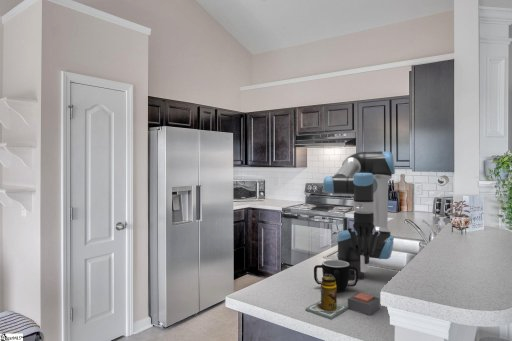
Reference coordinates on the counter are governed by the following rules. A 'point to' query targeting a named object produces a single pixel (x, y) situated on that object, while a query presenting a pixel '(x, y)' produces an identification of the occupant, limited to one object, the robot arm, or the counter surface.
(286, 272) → the counter surface
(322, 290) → the condiment
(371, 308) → the button housing
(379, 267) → the counter surface
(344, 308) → the slate board
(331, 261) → the mug
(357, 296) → the button
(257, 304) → the counter surface
